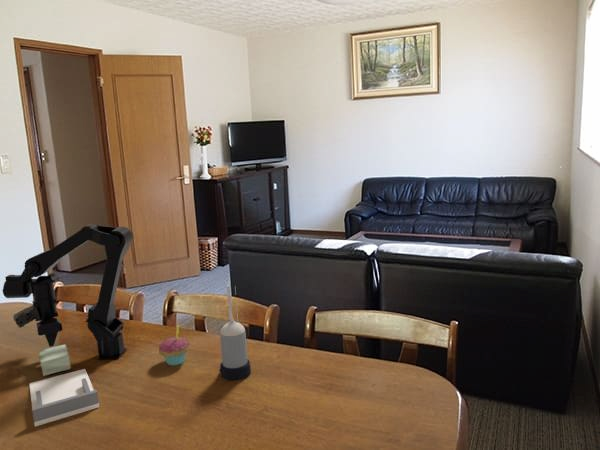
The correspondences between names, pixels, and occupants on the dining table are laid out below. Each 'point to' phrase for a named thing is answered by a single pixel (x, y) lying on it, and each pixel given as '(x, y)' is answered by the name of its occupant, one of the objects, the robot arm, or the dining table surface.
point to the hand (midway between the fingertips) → (51, 346)
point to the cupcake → (174, 349)
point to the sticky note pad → (54, 360)
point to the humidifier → (233, 348)
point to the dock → (62, 397)
